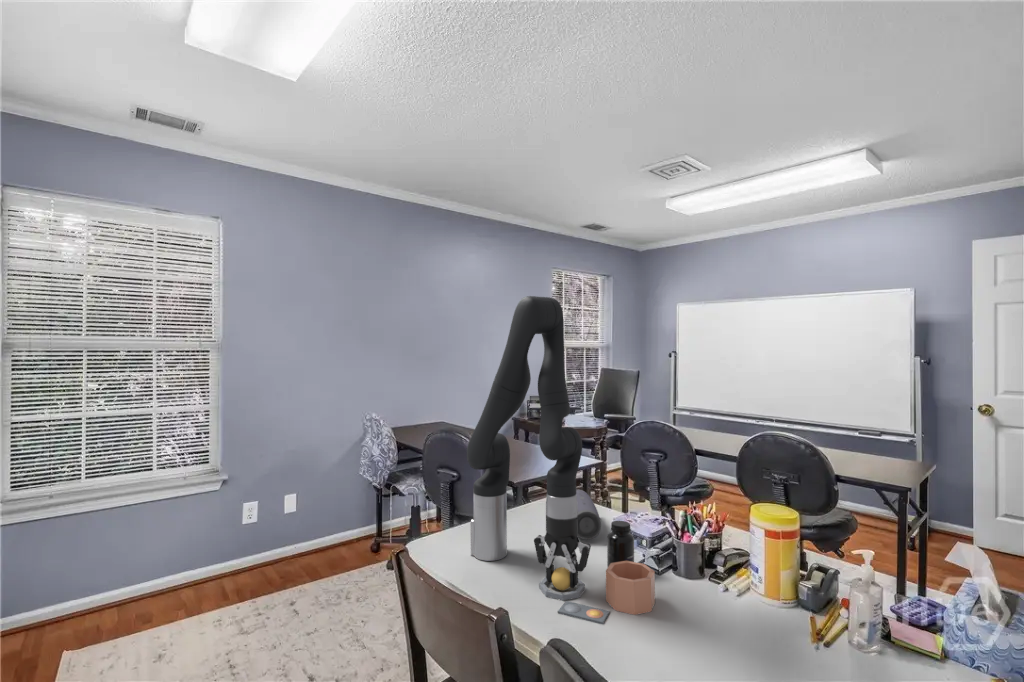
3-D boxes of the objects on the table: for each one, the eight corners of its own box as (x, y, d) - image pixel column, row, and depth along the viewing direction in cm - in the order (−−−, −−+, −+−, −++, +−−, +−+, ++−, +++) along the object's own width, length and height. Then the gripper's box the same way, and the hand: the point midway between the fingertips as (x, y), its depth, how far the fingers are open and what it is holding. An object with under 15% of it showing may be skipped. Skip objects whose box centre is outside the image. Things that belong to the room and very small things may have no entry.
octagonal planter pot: (602, 607, 112) (602, 575, 112) (614, 587, 120) (614, 558, 121) (648, 618, 107) (648, 585, 107) (657, 596, 116) (657, 566, 116)
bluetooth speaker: (603, 544, 147) (603, 509, 147) (571, 544, 147) (571, 509, 147) (592, 517, 170) (591, 487, 170) (564, 517, 170) (564, 487, 170)
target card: (557, 613, 109) (557, 610, 109) (565, 602, 114) (565, 600, 114) (602, 624, 105) (602, 621, 105) (609, 612, 109) (609, 610, 109)
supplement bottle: (634, 577, 126) (634, 529, 126) (607, 575, 127) (606, 527, 127) (633, 565, 133) (633, 519, 133) (607, 563, 134) (607, 518, 134)
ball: (548, 591, 119) (548, 570, 119) (556, 582, 123) (555, 562, 123) (568, 596, 117) (568, 574, 117) (575, 586, 121) (575, 565, 121)
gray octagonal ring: (534, 593, 118) (534, 588, 118) (550, 576, 127) (550, 571, 127) (575, 603, 113) (575, 598, 113) (588, 584, 122) (588, 579, 122)
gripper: (527, 513, 120) (528, 584, 120) (585, 522, 114) (586, 598, 113) (540, 504, 127) (540, 572, 127) (595, 512, 120) (596, 583, 120)
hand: (562, 584), depth 120 cm, fingers closed on ball, 5 cm apart
